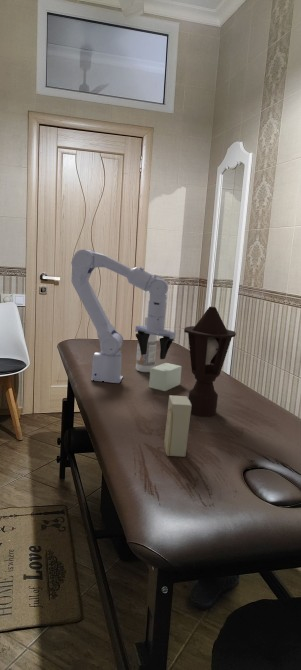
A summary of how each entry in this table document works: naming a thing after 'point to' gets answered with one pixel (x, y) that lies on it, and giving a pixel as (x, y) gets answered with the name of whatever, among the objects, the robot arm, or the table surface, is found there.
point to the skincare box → (177, 425)
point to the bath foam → (147, 359)
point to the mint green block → (165, 376)
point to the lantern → (207, 360)
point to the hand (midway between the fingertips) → (152, 356)
